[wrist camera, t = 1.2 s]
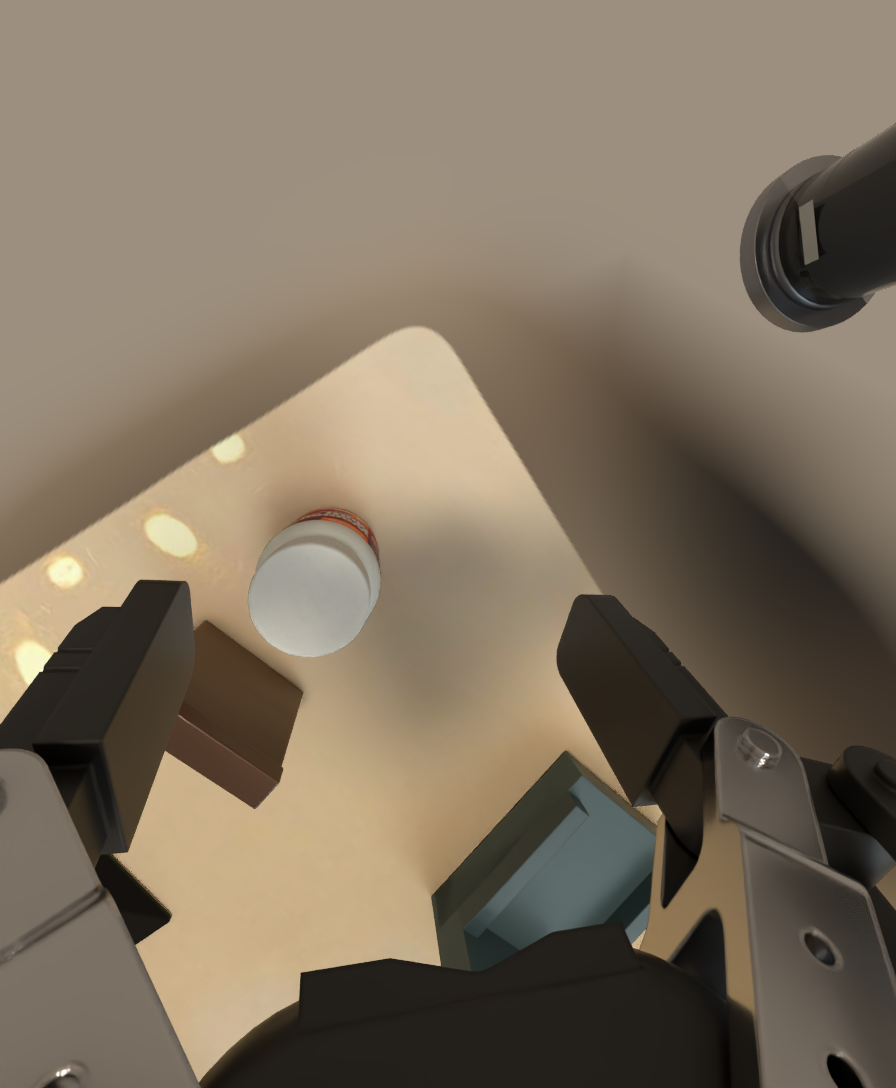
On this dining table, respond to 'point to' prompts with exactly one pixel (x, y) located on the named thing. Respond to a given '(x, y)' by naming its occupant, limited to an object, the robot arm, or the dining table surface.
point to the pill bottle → (316, 583)
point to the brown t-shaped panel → (234, 718)
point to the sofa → (548, 871)
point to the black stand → (131, 899)
